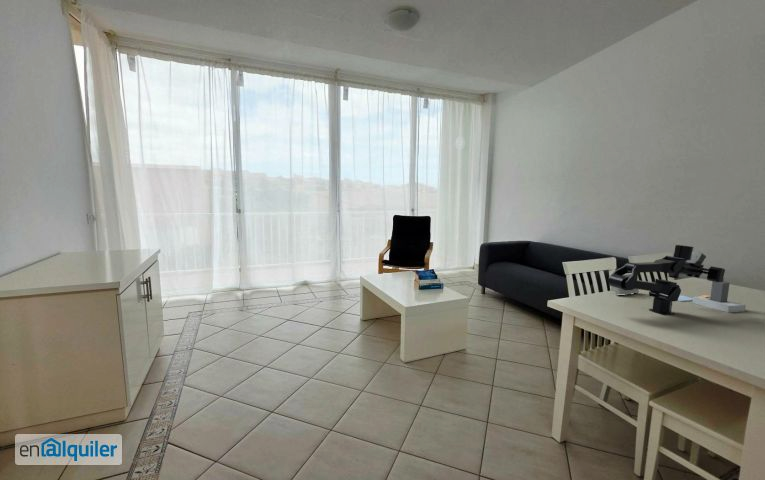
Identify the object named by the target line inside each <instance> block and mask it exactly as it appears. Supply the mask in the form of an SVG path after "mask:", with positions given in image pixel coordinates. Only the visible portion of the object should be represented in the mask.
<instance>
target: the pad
mask: <svg viewBox="0 0 765 480" xmlns="http://www.w3.org/2000/svg"><path fill="white" fill-rule="evenodd" d="M662 295H664V294H662ZM665 296H667V295H665ZM680 301H681V303H682V301H683V302H693V297H689V296H686V295H683V294H680V296H679V298H678V300H677V301H676V302H680Z"/></svg>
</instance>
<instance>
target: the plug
mask: <svg viewBox="0 0 765 480" xmlns="http://www.w3.org/2000/svg"><path fill="white" fill-rule="evenodd" d="M724 279H725V278H724V277H723V281H722V282H714V281H711V282H712V283H711V290H710V296H711V297H710V300H712V301H716V302H720V303H725V302H727V300H728V297H729V290H730V282H728V281H724Z"/></svg>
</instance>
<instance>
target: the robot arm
mask: <svg viewBox="0 0 765 480" xmlns="http://www.w3.org/2000/svg"><path fill="white" fill-rule="evenodd" d="M673 252H674V253H673V256H671V255H665V256H663V257H662V258H660V259H656V260H653V261H652V262H651V261H649V262H631V261H630V262H626V263H625V264H624V265H623V266H621V267H620V268H618V269H616V270H614V271H613V273H611V274H610V276H609V277H608V278H607V282H608V286H609V287H611V286H612V287H615V288H618V289H622V290H625V291H627V290H633V289H639V291H640V290H641V291H646V292H647V291H648V296H649V297H651V298H653V301H652V308H648V311H652V312H654V313H656V314H660V315H675V313H676V312H674V311H672V308H673V302H678V301H677V300H678V298H679V296H680V295H681V293H682V289H681V286H680V285H679V284H678V282H673V281H670V280H665V279H658V278H655V280H654V281H653V282H652V281H646V280H640V279H639V280H638V277H639V274H640V273H664V274H668V278H671V279H677V280H678V279H679V276H685V277H689V278H697V279H699V278H700V277H701V275H702V274H705V275H707V276H706V279H707V281H710V282H712V281H714V282H722V281H723V282H724V280H723V278H724V276H725V273H726V269H725V268H723V267H718V266H717V267H716V266H712V265H711V266H710V267H708V268H704V266H705V265H704V264H703V263H704V261H705V259H706V258H707V256H706V255H705V254H704V253H703V252H701V251H696V250H695V251H694V246H689V245H682V244H681V245H680V244H675V247H674V251H673ZM626 273H632V275H631V276H630V277H625V276H622V275H624V274H626ZM663 294H664V295H663ZM665 295H667V296H665Z"/></svg>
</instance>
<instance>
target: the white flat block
mask: <svg viewBox="0 0 765 480" xmlns="http://www.w3.org/2000/svg"><path fill="white" fill-rule="evenodd" d="M710 297H711V295H706V294H705V295H704V294H703V295H698V296H693V297H692V298H693V301H691V302H692V304H696V305H700V306H703V307H706V308H710V309H714V310H717V311H722V312H724V313H736V312H737V313H738V312H739V313H741V312H745V311H746V306H747V305H746V304H745V303H741V302H736V301H732V300H728V299H727V302H725V303H720V302H716V301H712V300H710Z"/></svg>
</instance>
